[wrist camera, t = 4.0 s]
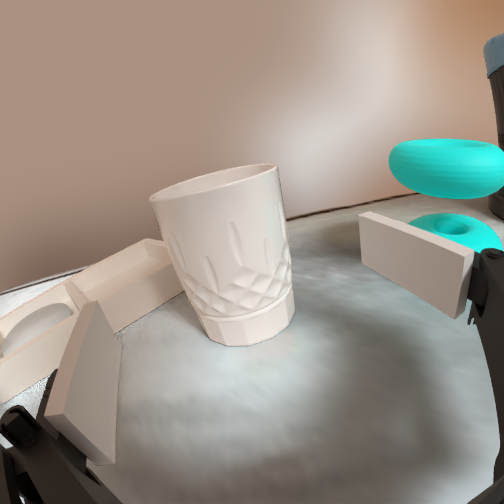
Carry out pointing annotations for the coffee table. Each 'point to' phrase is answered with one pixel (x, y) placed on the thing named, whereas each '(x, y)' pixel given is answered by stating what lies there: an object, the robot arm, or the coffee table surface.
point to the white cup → (231, 251)
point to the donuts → (451, 183)
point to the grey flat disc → (35, 325)
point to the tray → (82, 292)
